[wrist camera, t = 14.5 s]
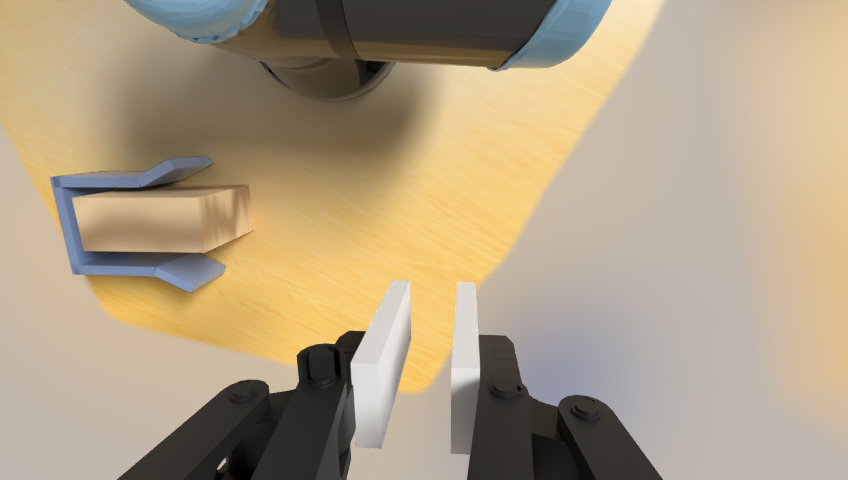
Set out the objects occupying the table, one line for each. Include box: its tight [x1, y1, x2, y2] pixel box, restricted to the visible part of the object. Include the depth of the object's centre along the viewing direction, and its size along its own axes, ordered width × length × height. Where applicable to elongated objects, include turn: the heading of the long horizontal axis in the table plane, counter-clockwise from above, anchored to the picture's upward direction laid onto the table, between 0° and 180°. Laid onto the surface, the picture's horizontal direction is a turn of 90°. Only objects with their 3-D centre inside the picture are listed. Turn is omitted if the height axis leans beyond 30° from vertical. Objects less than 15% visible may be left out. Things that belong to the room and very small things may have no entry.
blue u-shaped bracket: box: [50, 156, 226, 293], centre depth 44 cm, size 13×13×6 cm
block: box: [72, 185, 254, 253], centre depth 42 cm, size 5×12×9 cm, turn 91°
